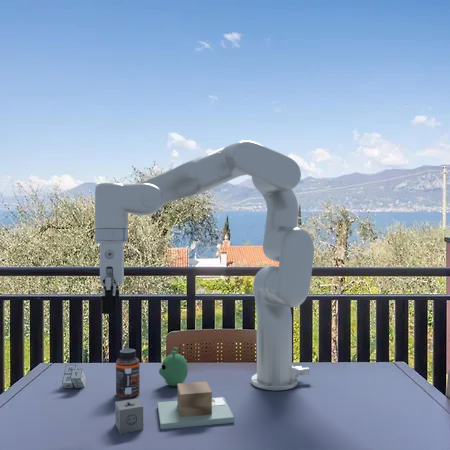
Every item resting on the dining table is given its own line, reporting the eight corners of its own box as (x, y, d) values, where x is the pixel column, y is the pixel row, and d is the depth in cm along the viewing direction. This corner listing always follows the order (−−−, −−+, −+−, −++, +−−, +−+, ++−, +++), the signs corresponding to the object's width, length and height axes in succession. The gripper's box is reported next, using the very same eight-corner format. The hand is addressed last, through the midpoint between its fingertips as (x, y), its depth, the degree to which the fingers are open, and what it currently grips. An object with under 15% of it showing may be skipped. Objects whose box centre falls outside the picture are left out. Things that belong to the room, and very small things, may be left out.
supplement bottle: (134, 399, 118) (133, 354, 118) (112, 398, 119) (111, 353, 119) (143, 391, 124) (142, 347, 124) (121, 389, 125) (121, 346, 125)
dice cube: (119, 434, 99) (119, 410, 99) (115, 424, 104) (115, 401, 104) (143, 429, 101) (143, 406, 101) (138, 420, 106) (137, 398, 106)
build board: (223, 401, 116) (223, 396, 116) (234, 422, 104) (234, 416, 104) (157, 407, 113) (157, 401, 113) (160, 429, 101) (160, 423, 101)
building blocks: (66, 392, 129) (59, 378, 123) (70, 374, 132) (63, 359, 126) (86, 392, 129) (80, 378, 123) (89, 373, 132) (84, 359, 127)
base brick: (207, 402, 113) (206, 381, 113) (211, 414, 106) (211, 392, 106) (177, 404, 111) (177, 383, 111) (180, 417, 105) (180, 394, 104)
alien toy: (160, 381, 131) (160, 345, 131) (188, 380, 131) (188, 344, 131) (157, 390, 124) (157, 352, 124) (187, 390, 124) (186, 352, 124)
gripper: (126, 237, 103) (125, 316, 103) (129, 235, 120) (128, 302, 120) (90, 237, 102) (89, 317, 102) (98, 235, 119) (98, 303, 119)
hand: (110, 309), depth 111 cm, fingers open, 9 cm apart
